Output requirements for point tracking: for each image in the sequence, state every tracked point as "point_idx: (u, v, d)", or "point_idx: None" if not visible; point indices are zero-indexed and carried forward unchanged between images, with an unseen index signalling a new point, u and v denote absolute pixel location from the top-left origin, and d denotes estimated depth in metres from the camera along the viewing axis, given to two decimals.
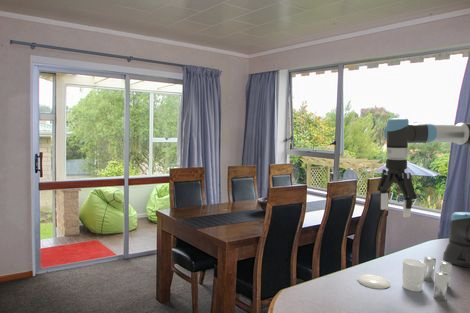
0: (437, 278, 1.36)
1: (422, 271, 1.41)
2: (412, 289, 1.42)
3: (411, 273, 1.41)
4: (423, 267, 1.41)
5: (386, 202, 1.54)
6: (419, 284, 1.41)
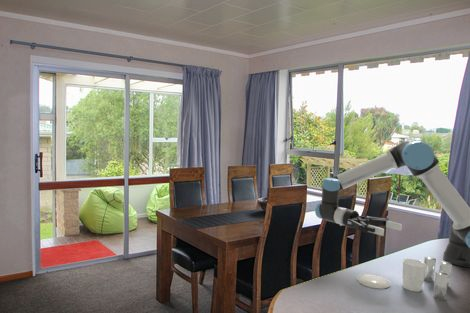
0: (437, 278, 1.36)
1: (422, 271, 1.41)
2: (412, 289, 1.42)
3: (411, 273, 1.41)
4: (423, 267, 1.41)
5: (394, 224, 1.56)
6: (419, 284, 1.41)
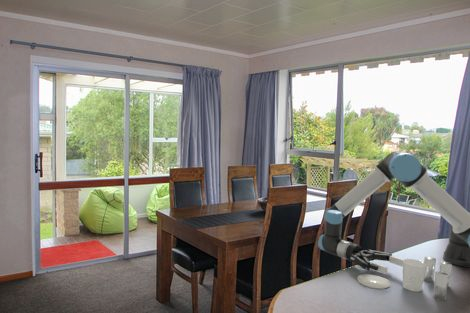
0: (437, 278, 1.36)
1: (422, 271, 1.41)
2: (412, 289, 1.42)
3: (411, 273, 1.41)
4: (423, 267, 1.41)
5: (398, 260, 1.55)
6: (419, 284, 1.41)
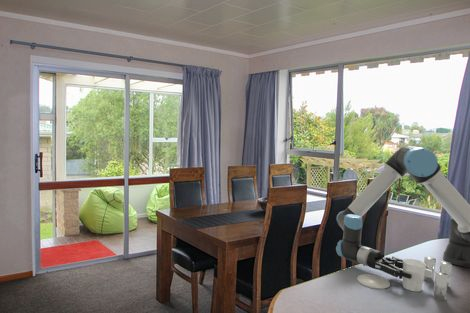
0: (437, 278, 1.36)
1: (422, 271, 1.41)
2: (412, 289, 1.42)
3: None
4: (423, 267, 1.41)
5: None
6: (419, 284, 1.41)
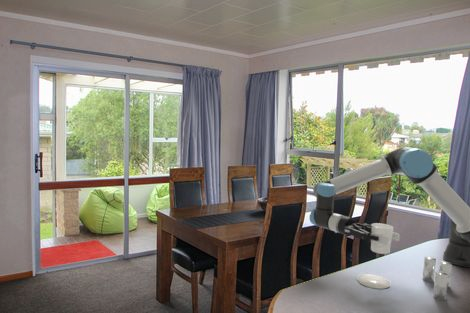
0: (437, 278, 1.36)
1: (389, 233, 1.43)
2: (379, 251, 1.44)
3: None
4: (390, 230, 1.43)
5: None
6: (386, 246, 1.43)
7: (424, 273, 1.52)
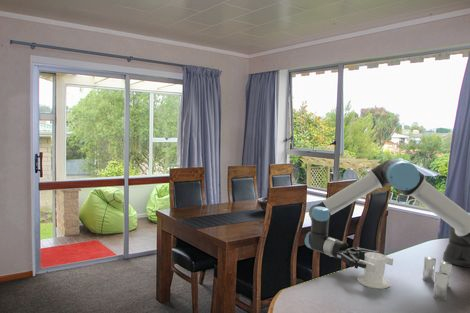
0: (437, 278, 1.36)
1: (382, 264, 1.44)
2: (372, 281, 1.46)
3: None
4: (383, 260, 1.44)
5: None
6: (379, 277, 1.45)
7: (424, 273, 1.52)
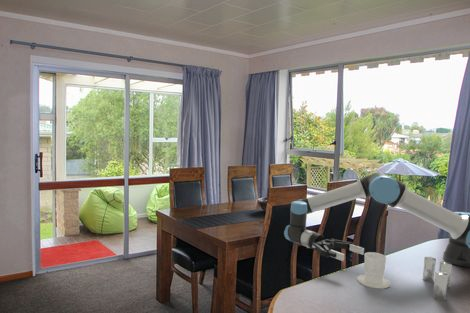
0: (437, 278, 1.36)
1: (382, 264, 1.44)
2: (372, 281, 1.46)
3: (371, 266, 1.45)
4: (383, 260, 1.44)
5: (357, 248, 1.61)
6: (379, 276, 1.45)
7: (424, 273, 1.52)
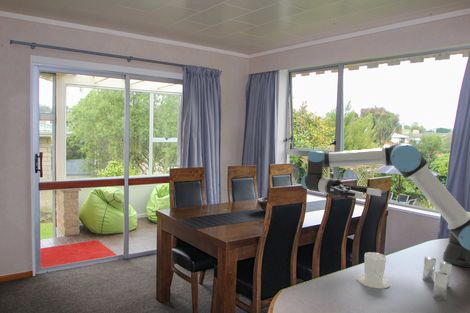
0: (437, 278, 1.36)
1: (382, 264, 1.44)
2: (372, 281, 1.46)
3: (371, 266, 1.45)
4: (383, 260, 1.44)
5: (374, 190, 1.66)
6: (379, 276, 1.45)
7: (424, 273, 1.52)
